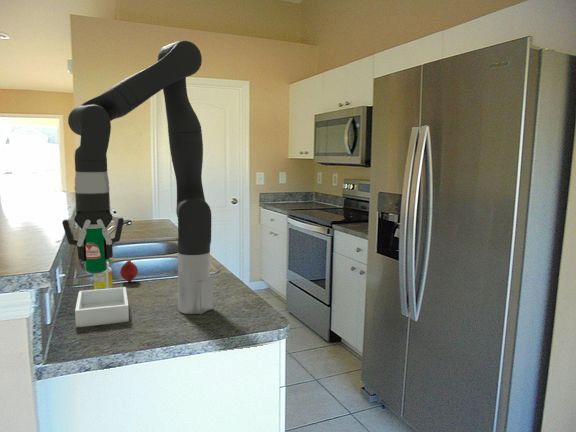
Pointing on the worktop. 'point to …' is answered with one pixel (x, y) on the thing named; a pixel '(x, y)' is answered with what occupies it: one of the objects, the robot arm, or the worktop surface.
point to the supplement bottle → (103, 279)
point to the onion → (129, 271)
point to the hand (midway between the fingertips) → (95, 259)
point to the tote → (101, 307)
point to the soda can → (95, 250)
